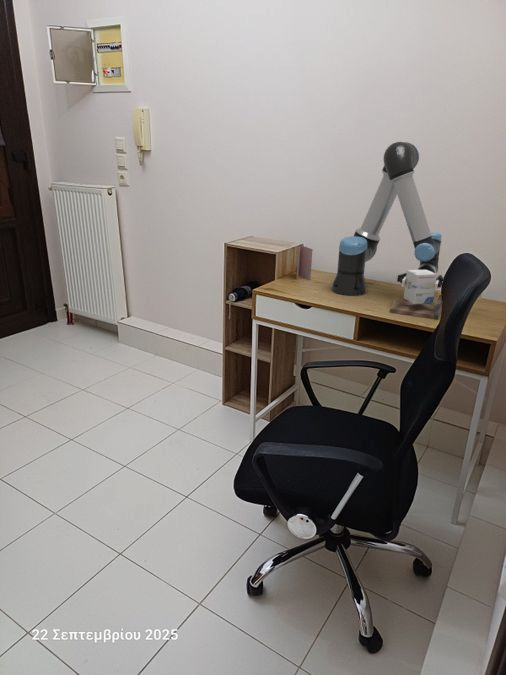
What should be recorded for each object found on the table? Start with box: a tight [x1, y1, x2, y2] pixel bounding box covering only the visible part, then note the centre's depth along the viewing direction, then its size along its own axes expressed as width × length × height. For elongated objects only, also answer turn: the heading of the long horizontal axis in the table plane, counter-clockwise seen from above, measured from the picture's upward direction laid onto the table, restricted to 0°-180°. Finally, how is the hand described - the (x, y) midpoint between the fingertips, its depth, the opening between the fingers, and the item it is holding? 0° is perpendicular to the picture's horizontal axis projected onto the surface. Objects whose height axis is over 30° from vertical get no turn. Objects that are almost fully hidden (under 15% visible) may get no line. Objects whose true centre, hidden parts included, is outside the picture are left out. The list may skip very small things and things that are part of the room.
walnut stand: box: [389, 294, 442, 320], centre depth 191 cm, size 18×14×6 cm
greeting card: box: [295, 245, 313, 281], centre depth 236 cm, size 11×7×15 cm, turn 169°
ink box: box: [403, 269, 438, 304], centre depth 189 cm, size 9×8×12 cm
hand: (419, 285), depth 185 cm, fingers closed on ink box, 11 cm apart
